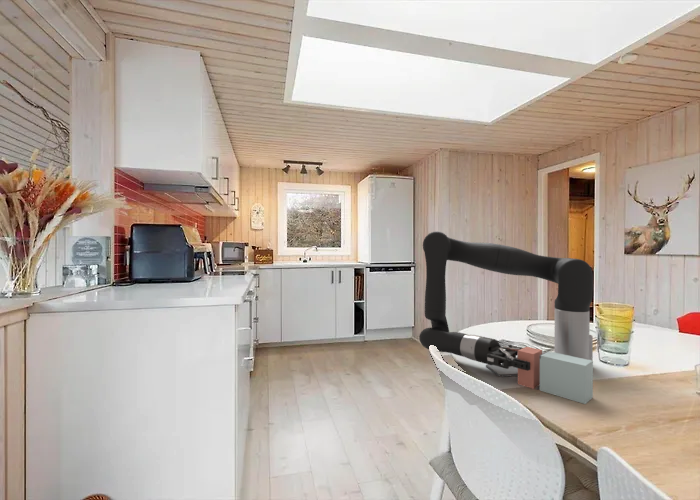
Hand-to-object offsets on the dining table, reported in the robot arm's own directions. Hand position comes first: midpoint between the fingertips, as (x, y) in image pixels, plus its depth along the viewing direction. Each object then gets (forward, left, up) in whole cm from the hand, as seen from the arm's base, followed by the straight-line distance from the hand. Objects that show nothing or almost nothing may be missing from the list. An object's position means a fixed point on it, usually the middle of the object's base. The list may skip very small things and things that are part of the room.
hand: (536, 362), depth 90 cm
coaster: (+2, -11, -6) cm, 13 cm away
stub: (+1, -1, -6) cm, 6 cm away
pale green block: (-4, +6, -6) cm, 9 cm away
